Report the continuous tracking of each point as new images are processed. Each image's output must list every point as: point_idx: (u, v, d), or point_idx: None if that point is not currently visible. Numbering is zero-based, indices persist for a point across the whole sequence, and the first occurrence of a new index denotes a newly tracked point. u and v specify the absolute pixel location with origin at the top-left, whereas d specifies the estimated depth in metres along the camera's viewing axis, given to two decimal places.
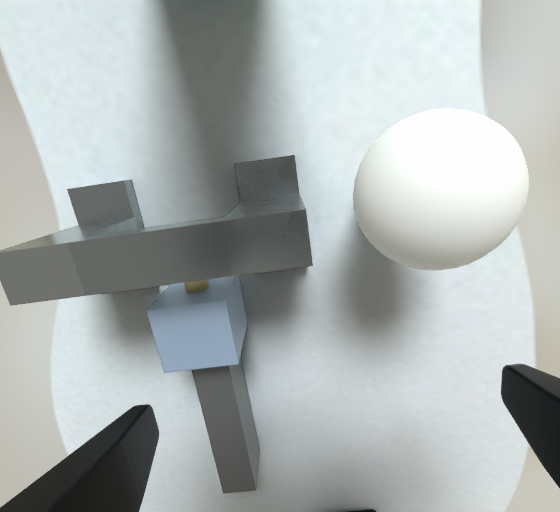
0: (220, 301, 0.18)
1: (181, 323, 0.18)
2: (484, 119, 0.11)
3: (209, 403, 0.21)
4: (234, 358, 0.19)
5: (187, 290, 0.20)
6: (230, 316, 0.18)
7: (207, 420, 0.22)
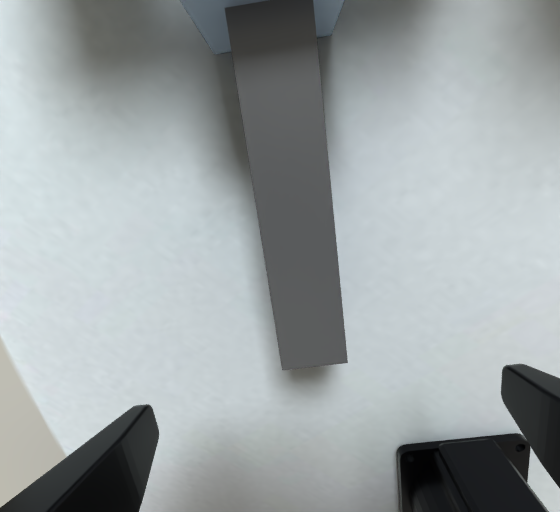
0: None
1: None
2: None
3: (266, 146, 0.10)
4: None
5: None
6: None
7: (260, 192, 0.10)
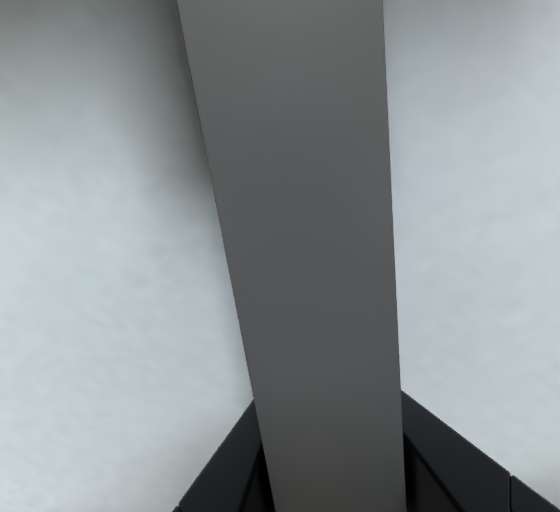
0: None
1: None
2: None
3: (248, 133, 0.04)
4: None
5: None
6: None
7: (235, 235, 0.05)
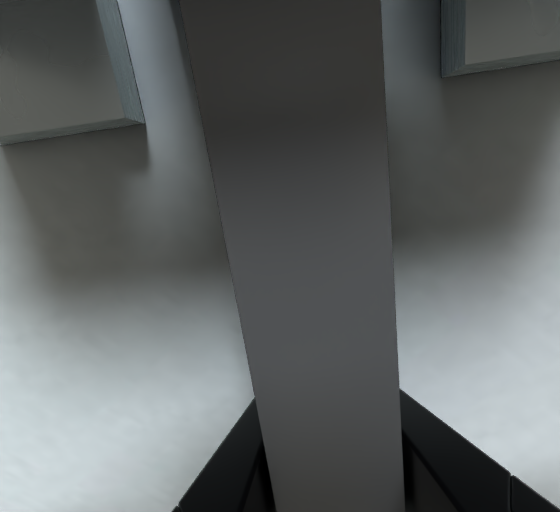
0: None
1: None
2: None
3: (254, 164, 0.04)
4: None
5: None
6: None
7: (241, 259, 0.05)
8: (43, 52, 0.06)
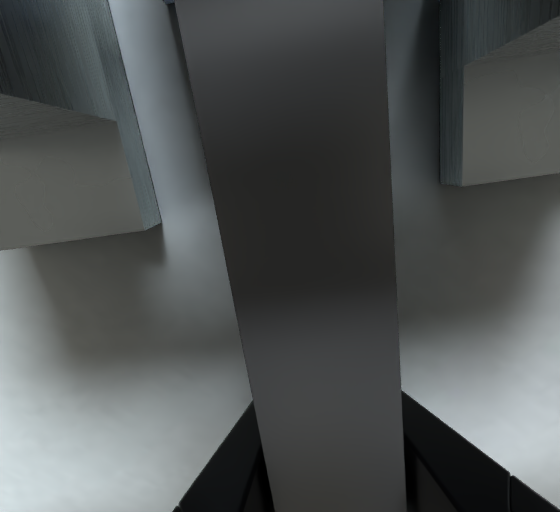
0: None
1: None
2: None
3: (255, 183, 0.04)
4: None
5: None
6: None
7: (242, 278, 0.05)
8: (69, 175, 0.07)
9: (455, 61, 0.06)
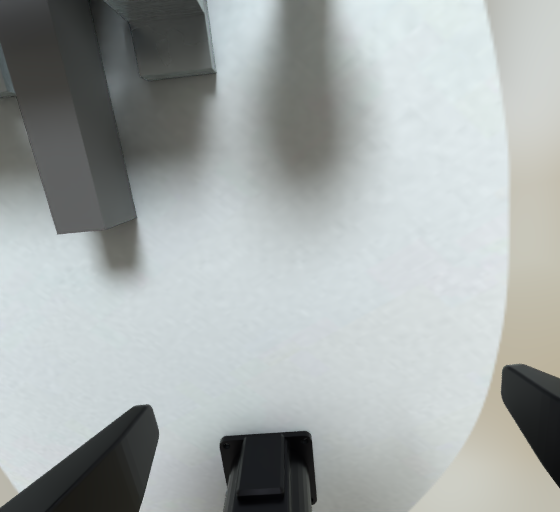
0: None
1: None
2: None
3: (17, 51, 0.14)
4: None
5: None
6: None
7: (17, 86, 0.14)
8: None
9: None
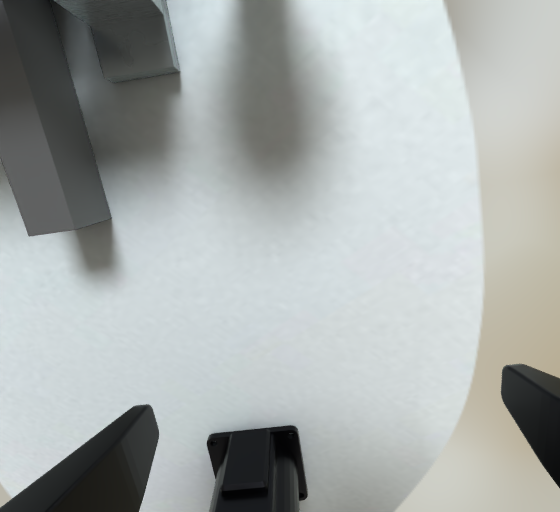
0: None
1: None
2: None
3: None
4: None
5: None
6: None
7: None
8: None
9: None
